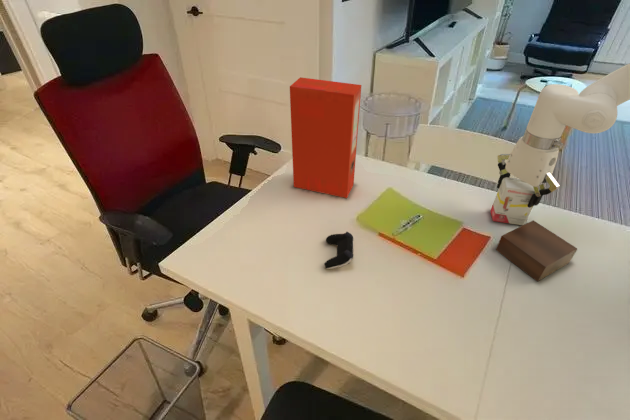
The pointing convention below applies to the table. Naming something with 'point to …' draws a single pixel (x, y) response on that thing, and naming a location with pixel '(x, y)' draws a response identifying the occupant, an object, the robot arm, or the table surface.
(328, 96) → the file binder
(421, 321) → the table surface
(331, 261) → the gaming controller
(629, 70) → the robot arm
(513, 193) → the ink box
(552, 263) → the walnut block
